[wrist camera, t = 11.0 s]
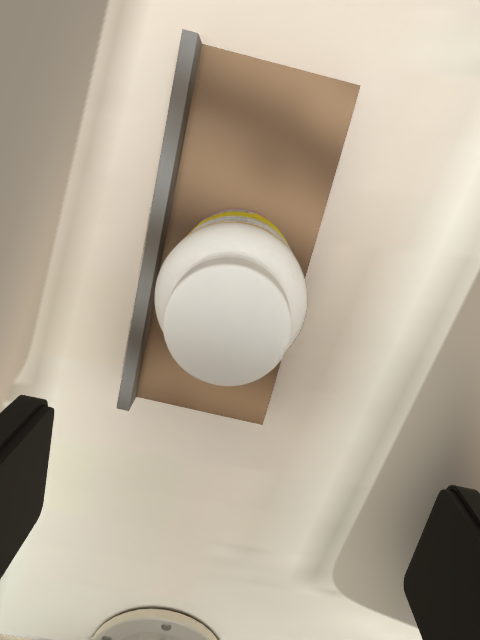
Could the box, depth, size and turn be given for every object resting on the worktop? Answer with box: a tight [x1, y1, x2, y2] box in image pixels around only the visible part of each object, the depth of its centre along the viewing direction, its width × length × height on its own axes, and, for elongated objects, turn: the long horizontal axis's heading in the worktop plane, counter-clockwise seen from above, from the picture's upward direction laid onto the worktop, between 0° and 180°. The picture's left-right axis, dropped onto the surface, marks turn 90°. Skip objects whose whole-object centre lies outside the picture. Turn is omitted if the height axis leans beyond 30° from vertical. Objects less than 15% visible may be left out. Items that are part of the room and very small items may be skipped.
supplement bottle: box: [155, 209, 307, 386], centre depth 22 cm, size 7×7×13 cm
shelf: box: [117, 29, 360, 425], centre depth 28 cm, size 22×10×4 cm, turn 167°
